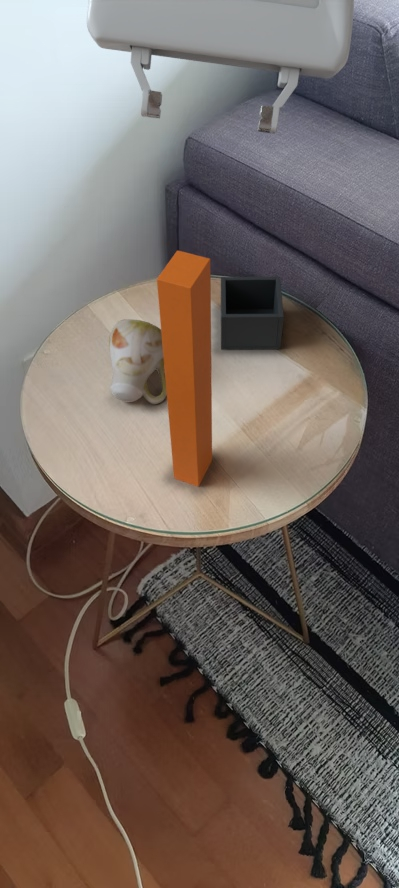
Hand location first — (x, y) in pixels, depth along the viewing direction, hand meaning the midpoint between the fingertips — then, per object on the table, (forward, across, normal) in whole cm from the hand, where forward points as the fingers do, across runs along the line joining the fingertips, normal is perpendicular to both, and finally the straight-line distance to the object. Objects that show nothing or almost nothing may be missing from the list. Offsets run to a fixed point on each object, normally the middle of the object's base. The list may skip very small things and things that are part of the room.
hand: (208, 124), depth 56 cm
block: (+34, +3, +12) cm, 36 cm away
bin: (+21, +8, +31) cm, 38 cm away
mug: (+28, -5, +24) cm, 37 cm away
